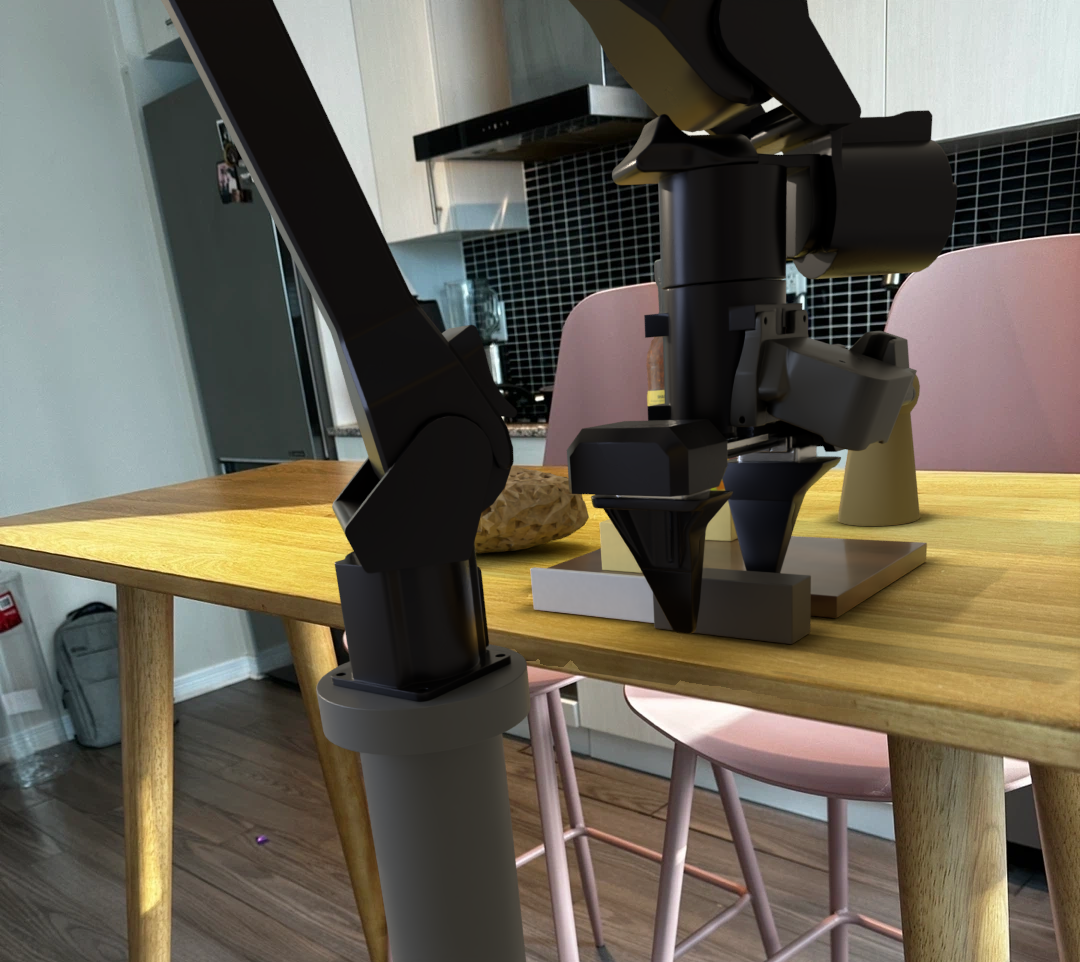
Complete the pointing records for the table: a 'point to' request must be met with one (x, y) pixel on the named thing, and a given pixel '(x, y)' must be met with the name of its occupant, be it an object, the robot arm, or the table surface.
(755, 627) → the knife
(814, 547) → the cutting board
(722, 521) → the block
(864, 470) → the cork
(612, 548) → the butter block
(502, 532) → the sponge
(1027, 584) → the table surface
